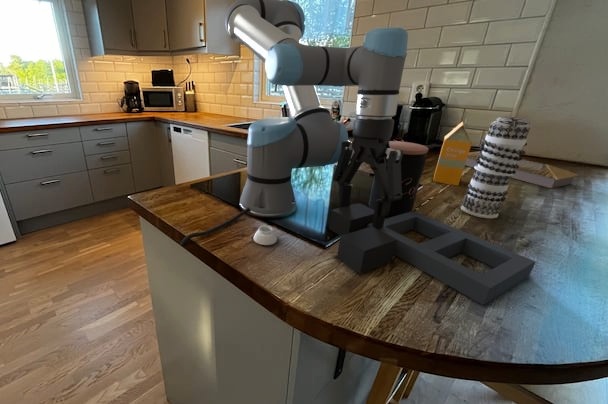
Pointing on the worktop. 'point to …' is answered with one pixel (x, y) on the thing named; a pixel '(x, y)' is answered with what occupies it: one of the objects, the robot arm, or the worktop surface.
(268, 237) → the white upturned bowl
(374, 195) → the coffee jar
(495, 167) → the decorative candle
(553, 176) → the rafter model
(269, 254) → the worktop surface
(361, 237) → the pad
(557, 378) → the worktop surface
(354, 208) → the pad
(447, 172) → the orange juice
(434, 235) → the base pad
